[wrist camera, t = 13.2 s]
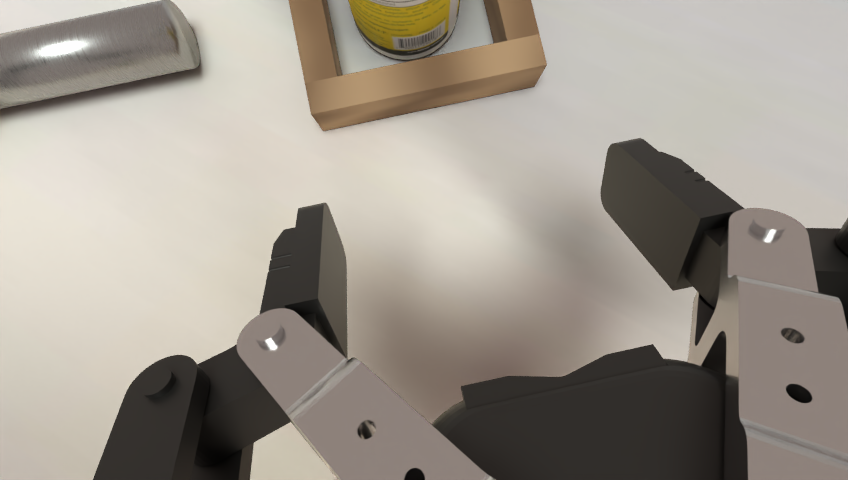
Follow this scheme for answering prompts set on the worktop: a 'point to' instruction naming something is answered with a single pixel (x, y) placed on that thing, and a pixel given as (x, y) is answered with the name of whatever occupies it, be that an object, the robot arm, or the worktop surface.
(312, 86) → the collar block
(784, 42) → the worktop surface
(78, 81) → the shaft
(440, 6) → the supplement bottle
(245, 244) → the worktop surface
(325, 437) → the robot arm
